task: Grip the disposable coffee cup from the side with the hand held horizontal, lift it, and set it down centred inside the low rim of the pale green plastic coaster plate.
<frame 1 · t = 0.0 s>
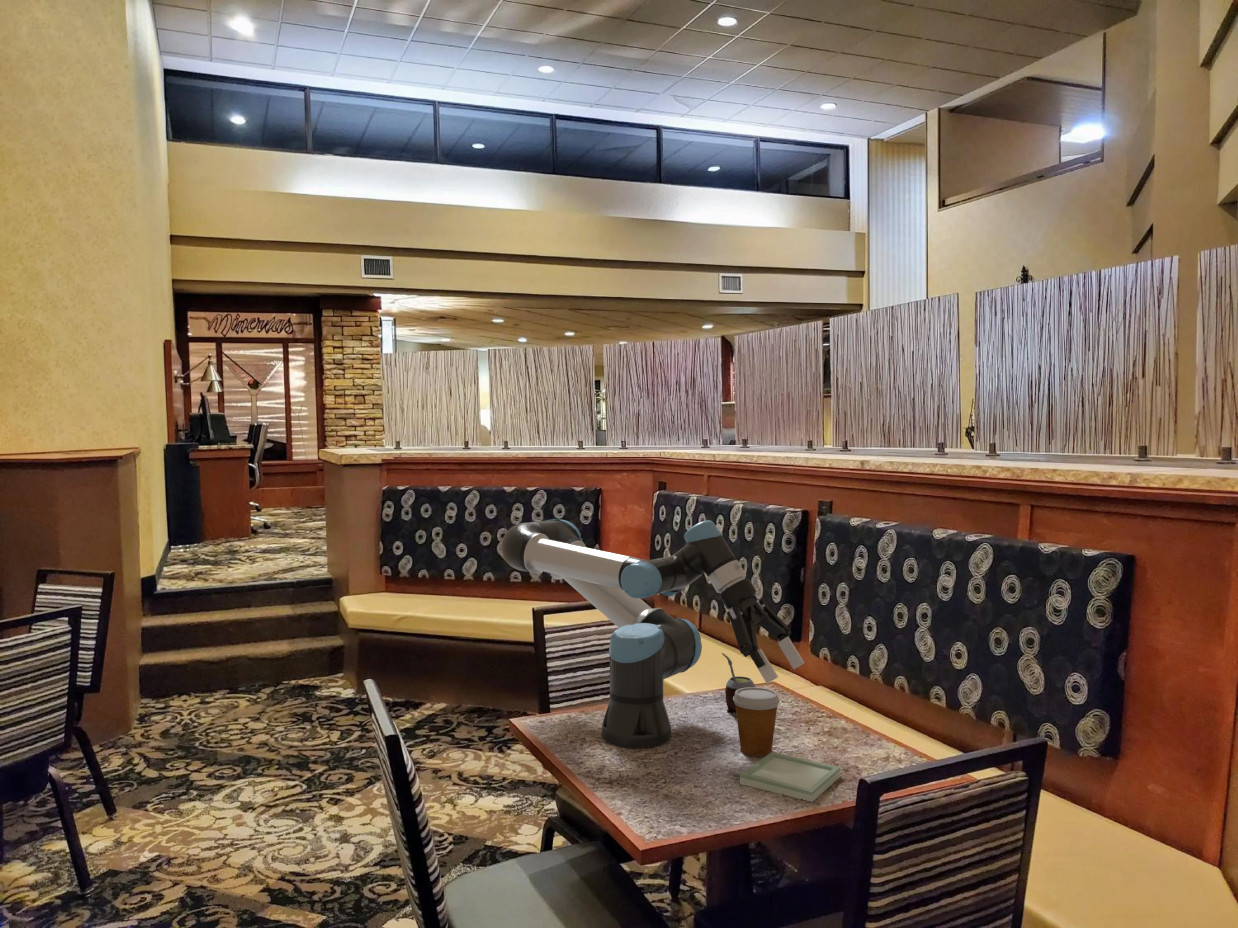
hand: (786, 673, 172), 15 cm above the table, tool tilted 35°, fingers open, 13 cm apart
coaster plate: (790, 779, 154), on the table
disposable coffee cup: (756, 751, 169), on the table
mate gourd: (739, 714, 194), on the table
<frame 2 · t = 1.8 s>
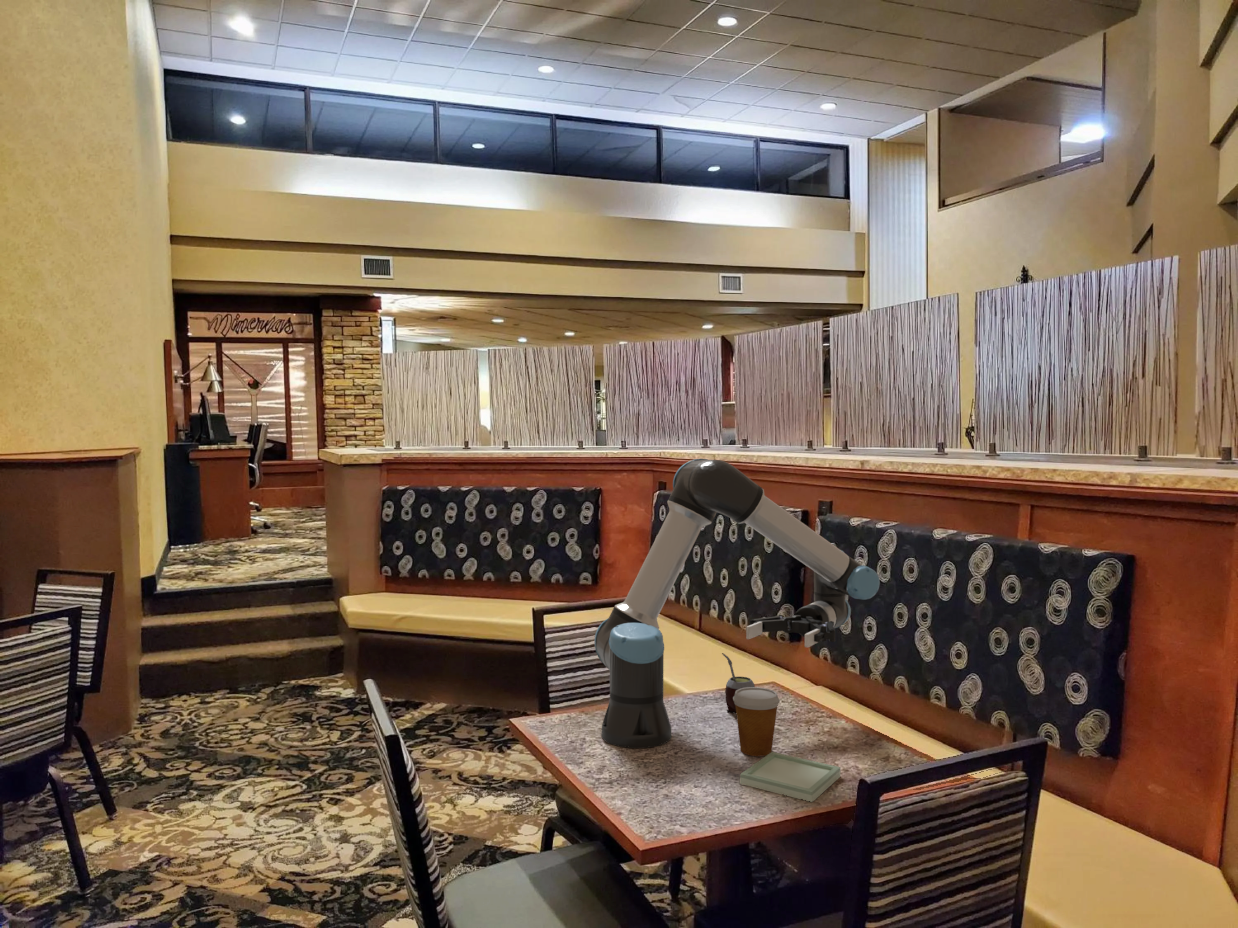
hand: (776, 636, 177), 22 cm above the table, tool horizontal, fingers open, 13 cm apart
nothing on the table moved.
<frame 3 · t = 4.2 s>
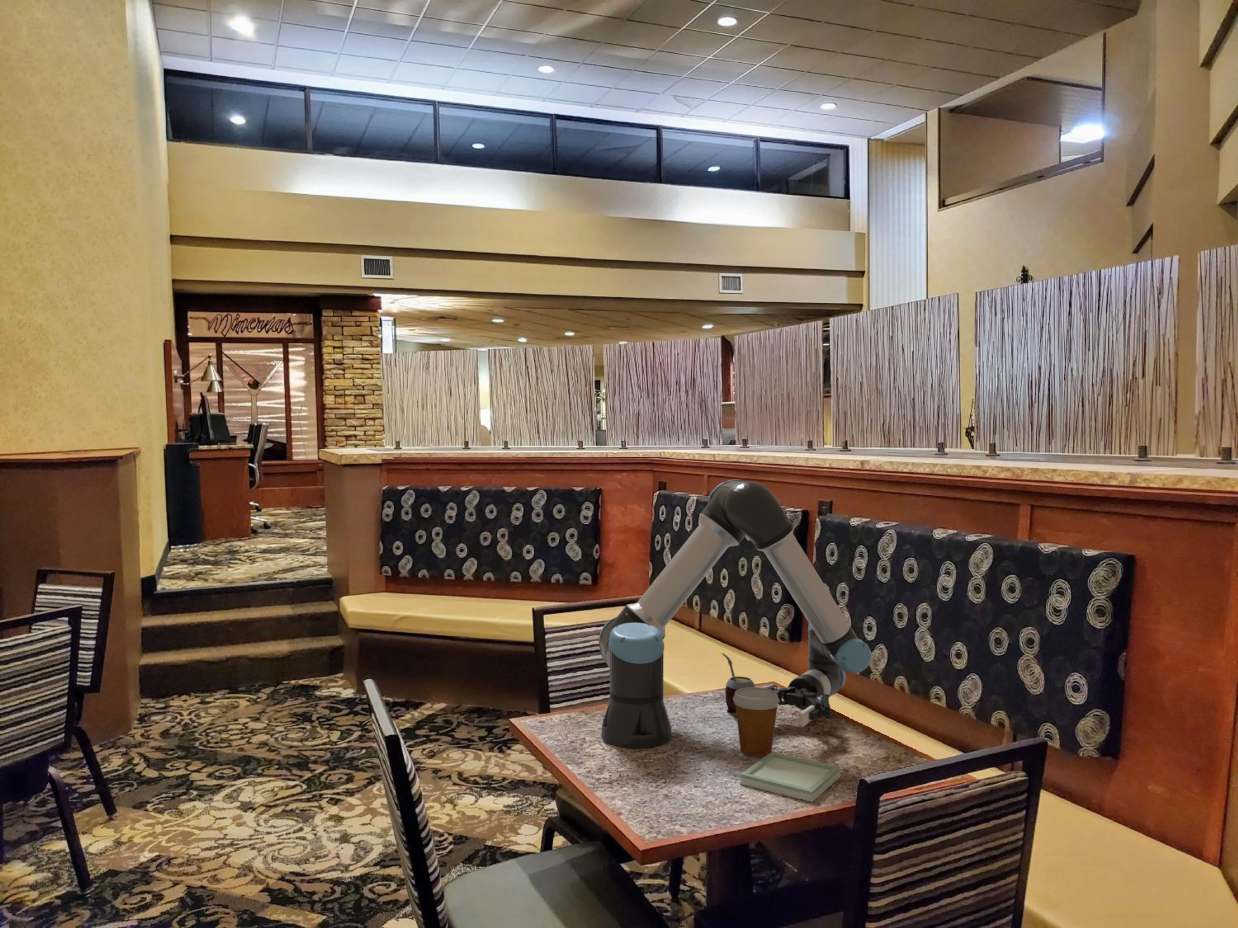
hand: (770, 713, 173), 6 cm above the table, tool horizontal, fingers open, 13 cm apart
nothing on the table moved.
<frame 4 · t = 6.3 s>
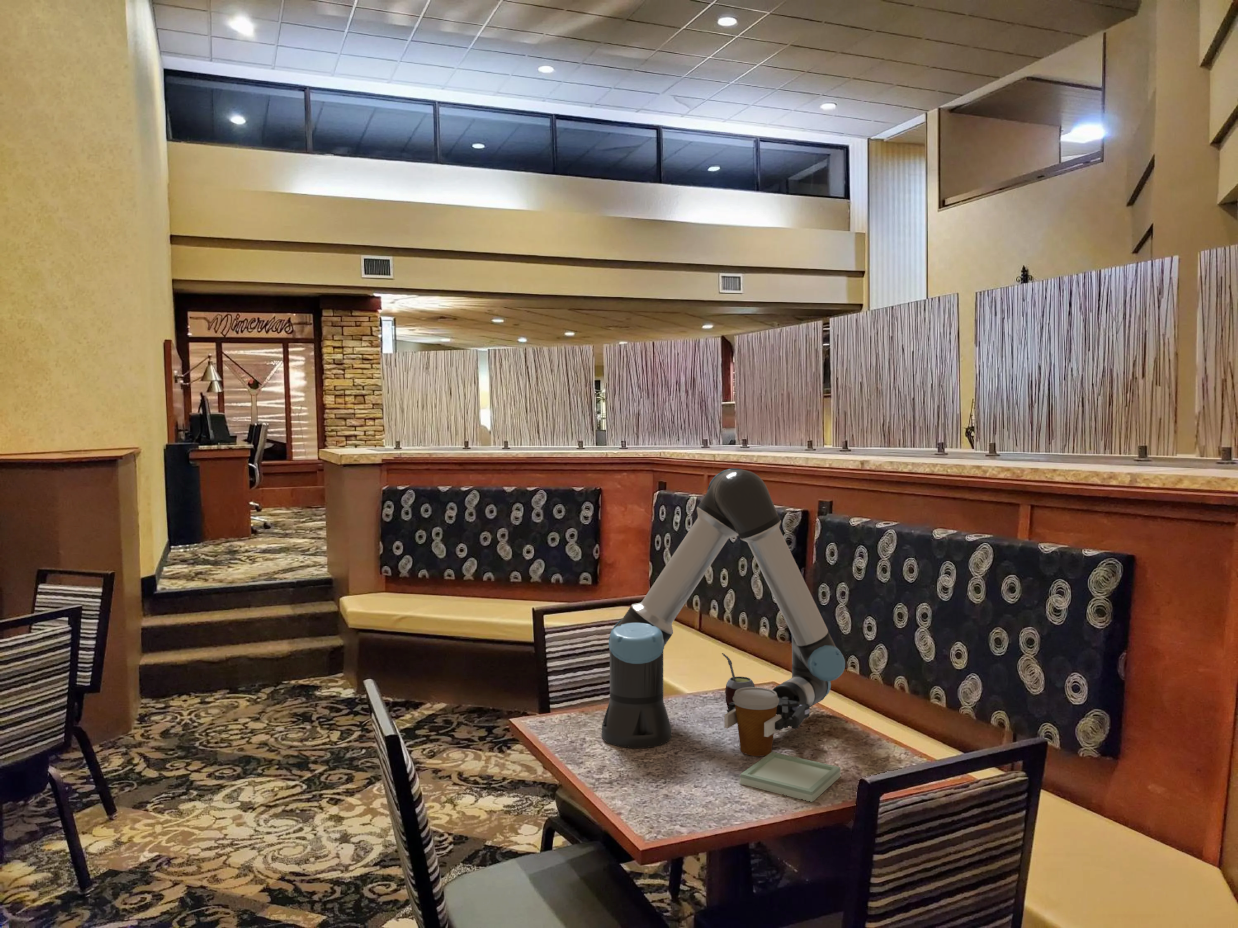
hand: (745, 725, 165), 7 cm above the table, tool horizontal, fingers closed on disposable coffee cup, 8 cm apart
disposable coffee cup: (756, 751, 169), on the table, touching gripper
everything else where it was.
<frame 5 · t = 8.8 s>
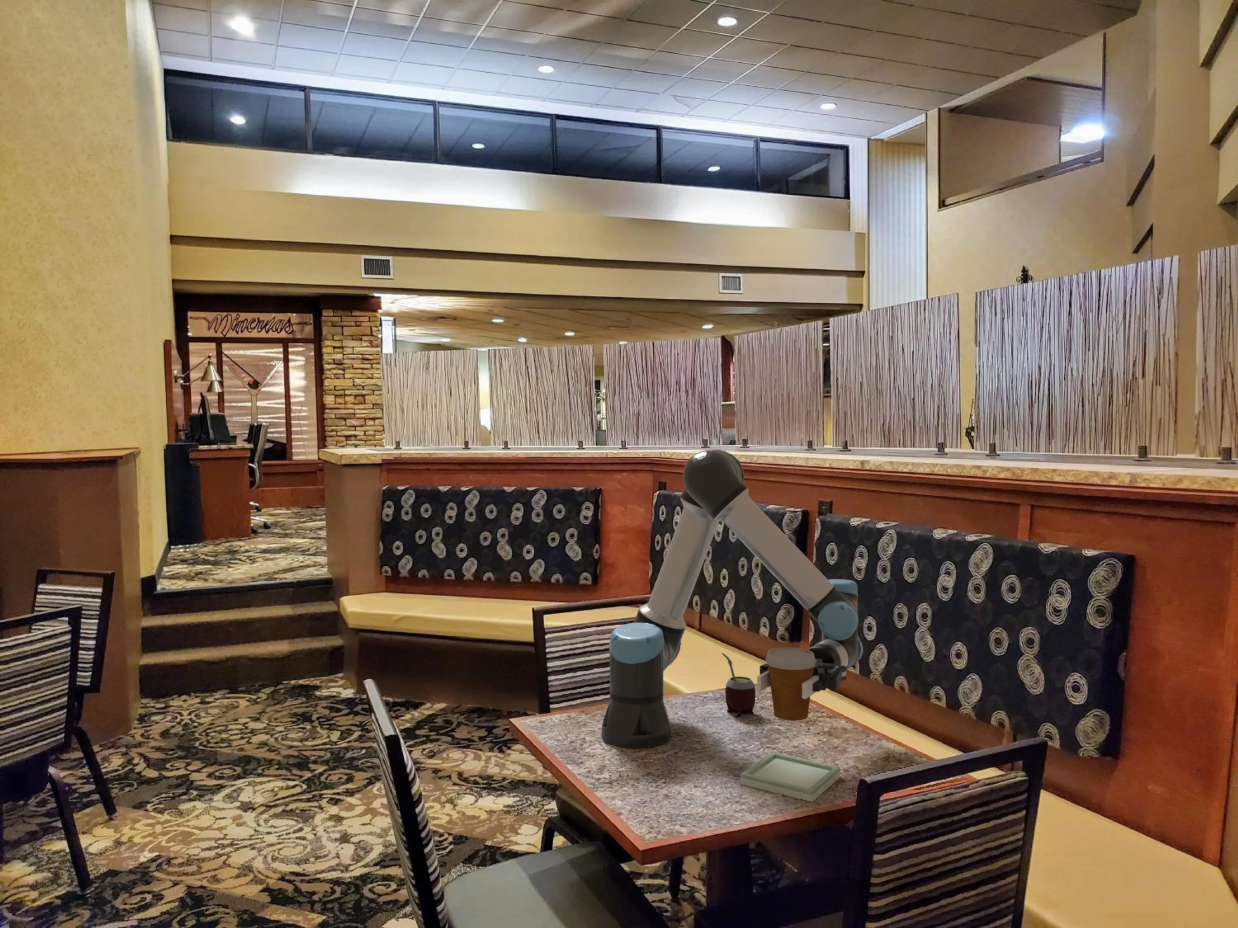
hand: (781, 687, 152), 18 cm above the table, tool horizontal, fingers closed on disposable coffee cup, 8 cm apart
disposable coffee cup: (790, 716, 156), point 11 cm above the table, touching gripper
everything else where it was.
when the fingers open (9 cm above the table, at t = 11.1 s): disposable coffee cup drops 1 cm, resting on coaster plate.
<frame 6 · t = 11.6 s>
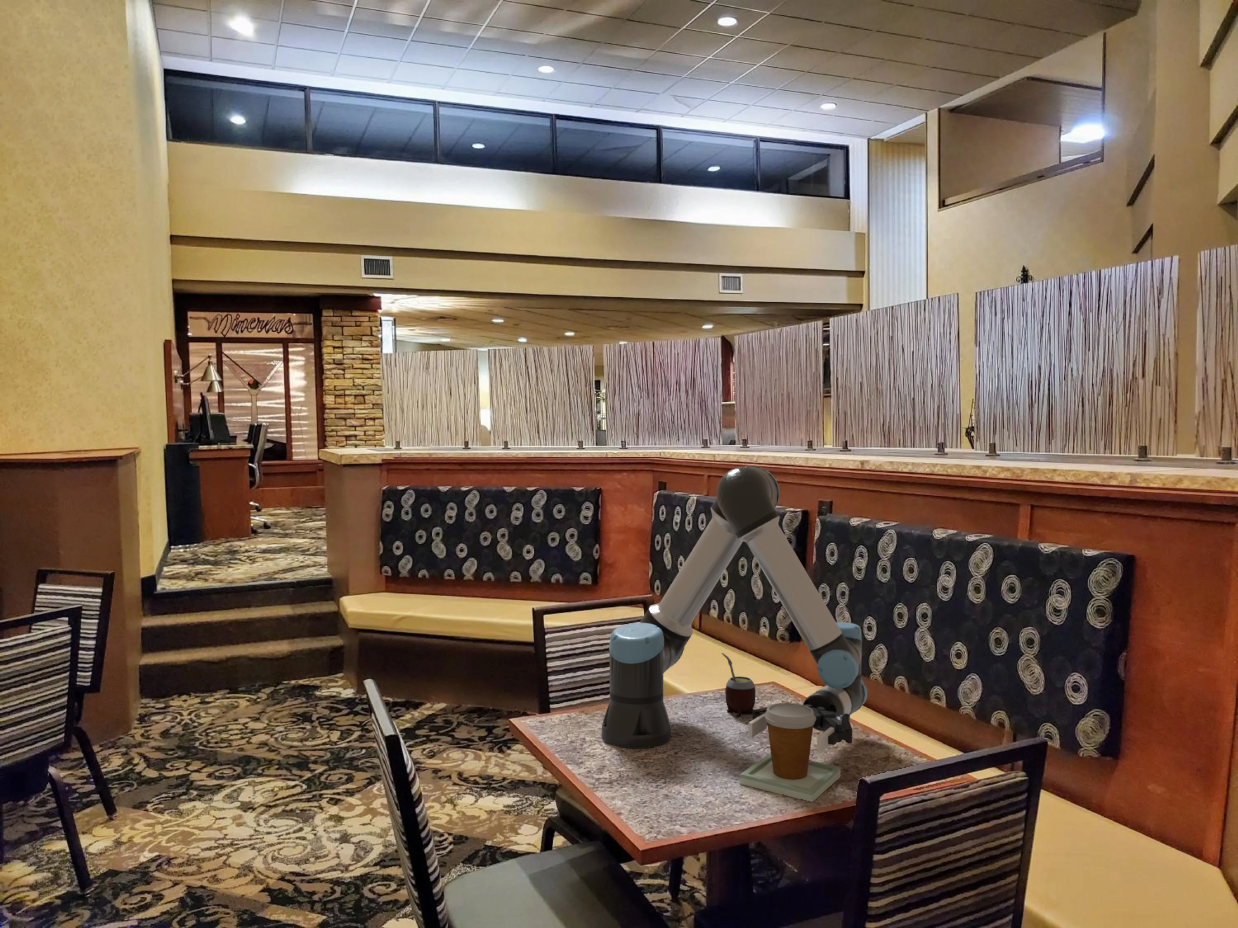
hand: (783, 737, 151), 9 cm above the table, tool horizontal, fingers open, 13 cm apart
disposable coffee cup: (790, 774, 154), point 1 cm above the table, touching coaster plate
everything else where it was.
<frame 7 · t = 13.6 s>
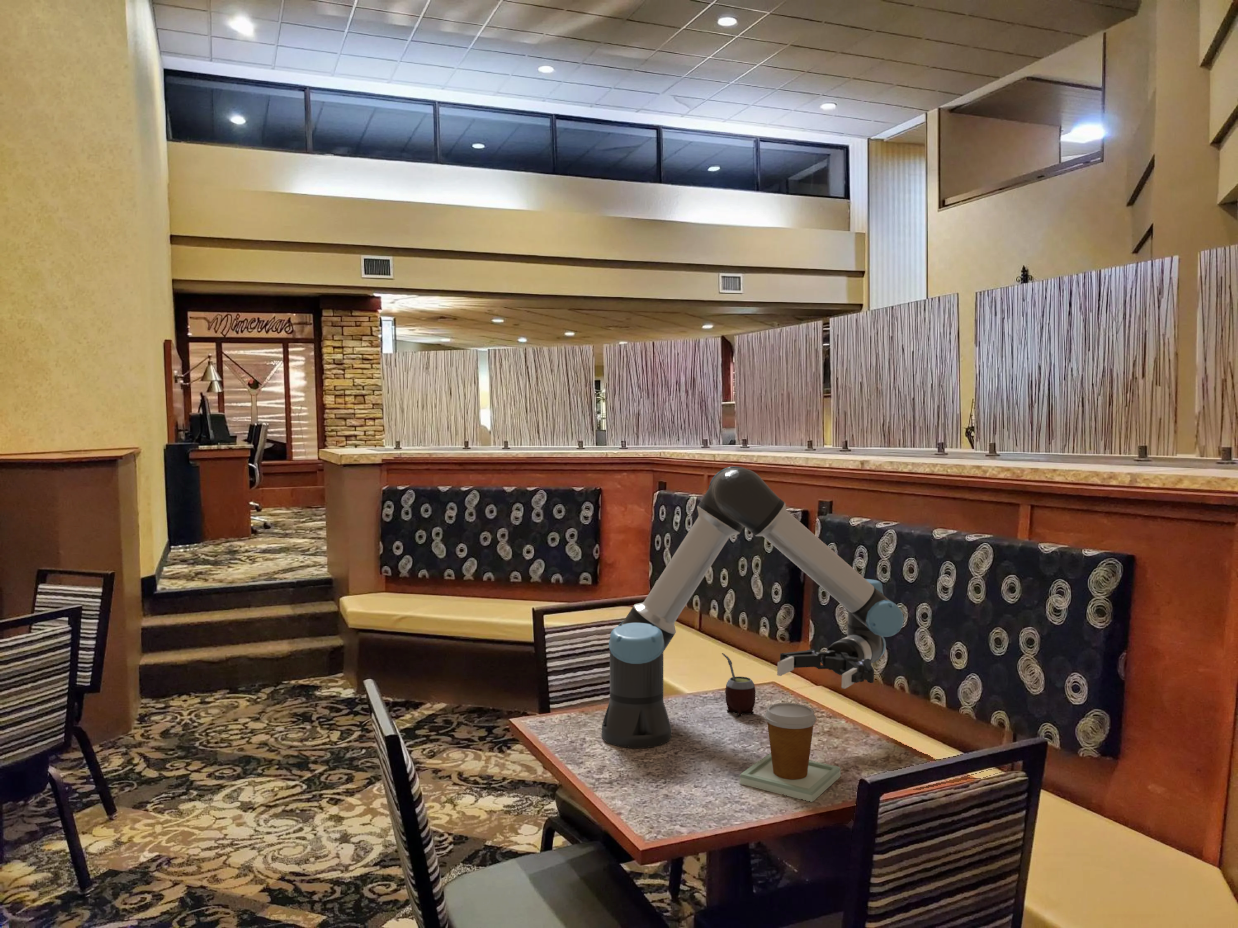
hand: (810, 675, 164), 17 cm above the table, tool horizontal, fingers open, 13 cm apart
nothing on the table moved.
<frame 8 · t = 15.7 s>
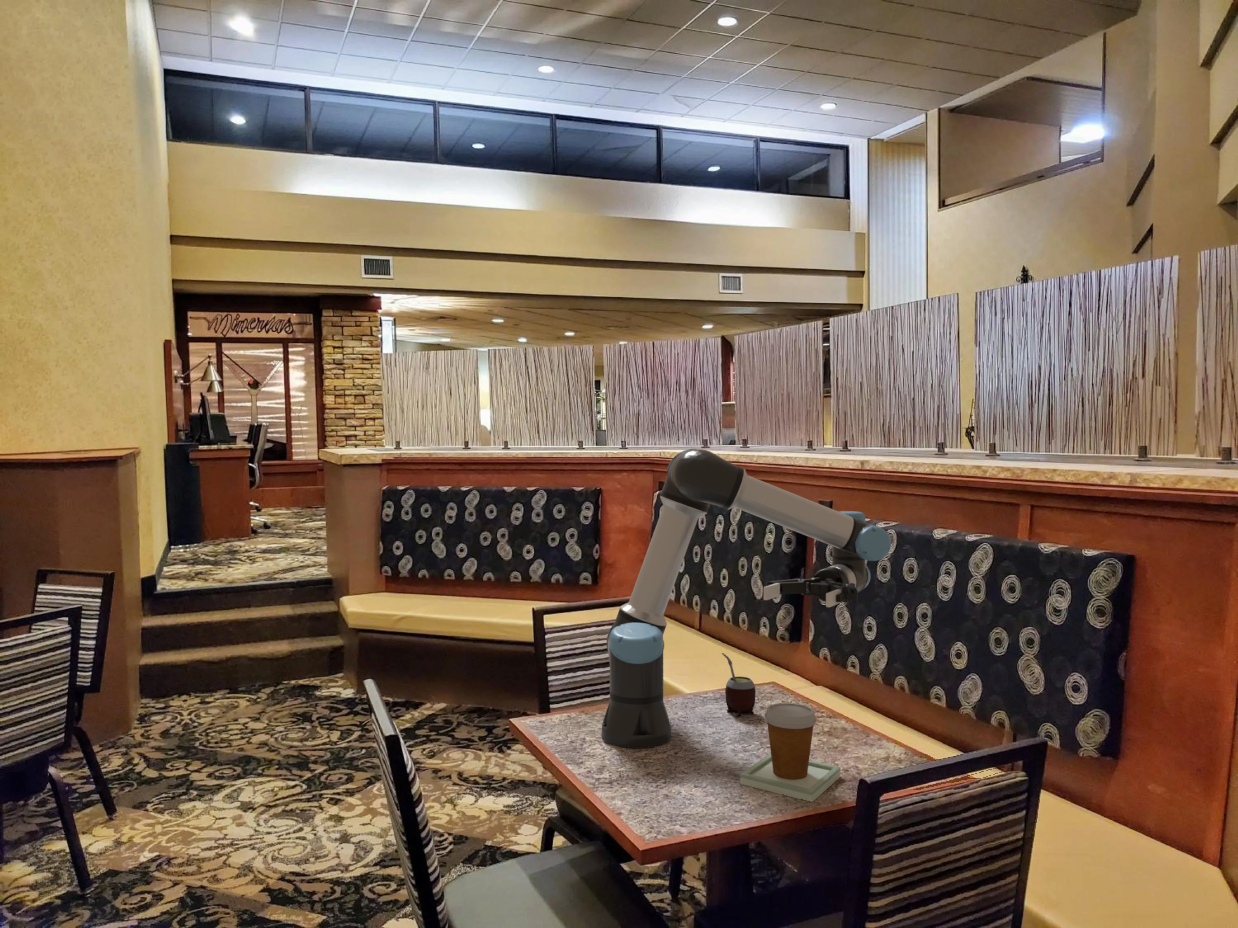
hand: (795, 596, 168), 32 cm above the table, tool horizontal, fingers open, 13 cm apart
nothing on the table moved.
at the end: disposable coffee cup inside the target area on the coaster plate (0.2 cm from its centre), point 1.0 cm above the coaster plate's base; disposable coffee cup tilted 0°; the gripper is holding nothing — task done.
